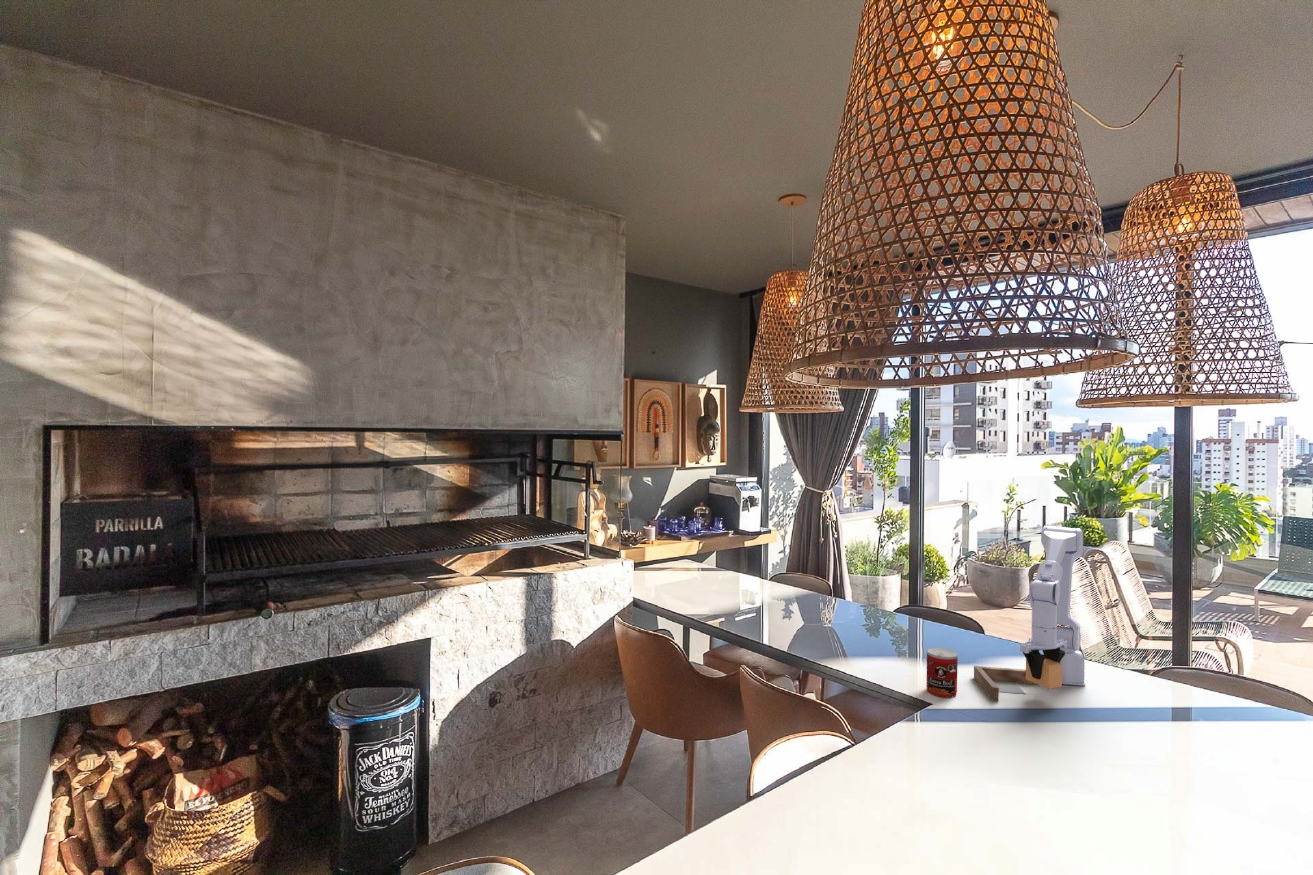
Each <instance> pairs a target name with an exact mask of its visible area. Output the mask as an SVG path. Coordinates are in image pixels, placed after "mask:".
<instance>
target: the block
mask: <svg viewBox="0 0 1313 875" xmlns="http://www.w3.org/2000/svg"><path fill="white" fill-rule="evenodd" d="M1025 670H1026V680H1029V681H1031V682H1034V683H1036V684H1039V685H1038V686H1041V687H1044V688H1046V689H1055V688H1062V685H1063V684H1062V664H1061V663H1058V662H1055V661H1053V660H1050V659H1047V658H1045V659H1044V662H1043V666H1042V674H1041V679H1036V678H1033V677H1032V675H1031V671H1030V667H1029V664H1028V661H1027V659H1026V658H1025ZM1036 684H1035V685H1036Z"/></svg>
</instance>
